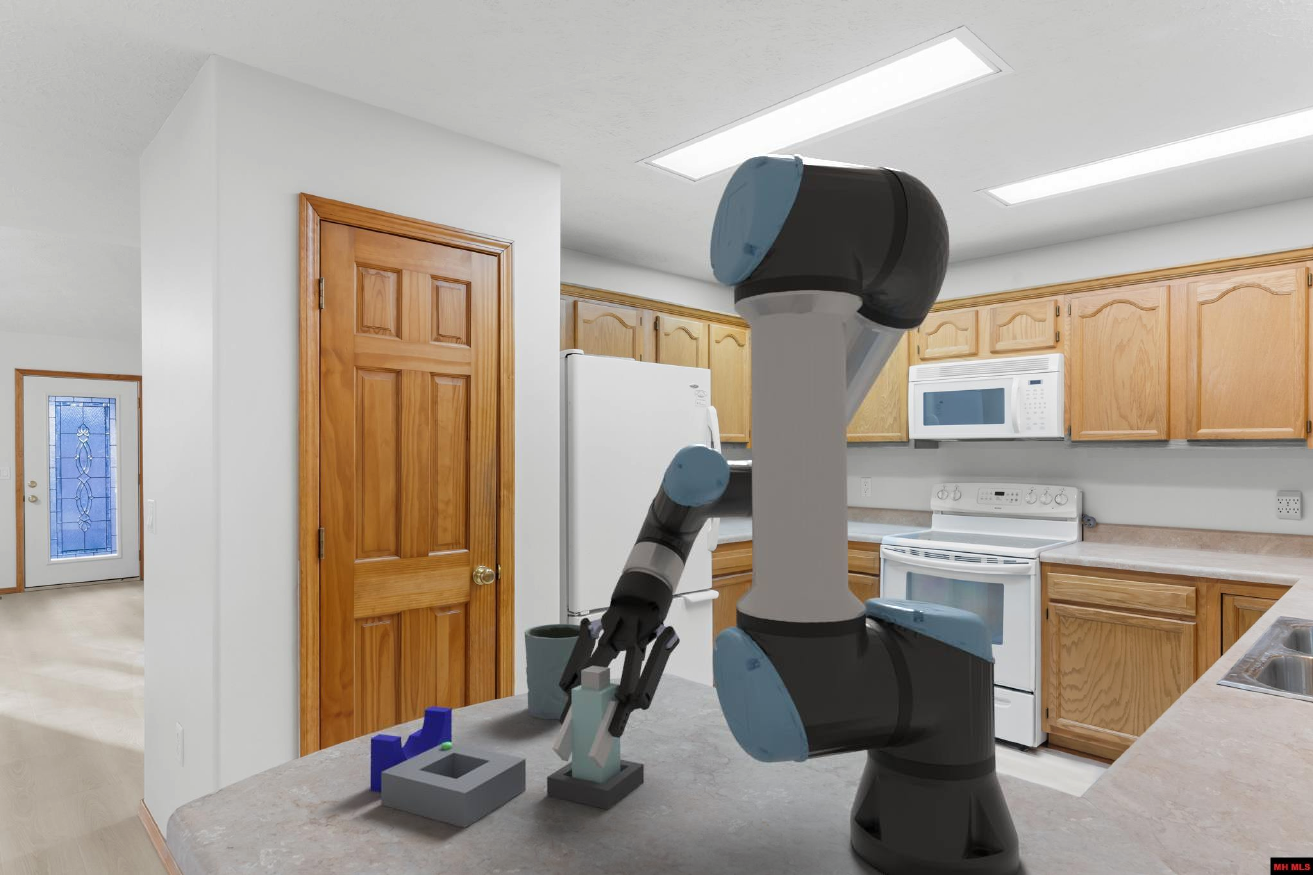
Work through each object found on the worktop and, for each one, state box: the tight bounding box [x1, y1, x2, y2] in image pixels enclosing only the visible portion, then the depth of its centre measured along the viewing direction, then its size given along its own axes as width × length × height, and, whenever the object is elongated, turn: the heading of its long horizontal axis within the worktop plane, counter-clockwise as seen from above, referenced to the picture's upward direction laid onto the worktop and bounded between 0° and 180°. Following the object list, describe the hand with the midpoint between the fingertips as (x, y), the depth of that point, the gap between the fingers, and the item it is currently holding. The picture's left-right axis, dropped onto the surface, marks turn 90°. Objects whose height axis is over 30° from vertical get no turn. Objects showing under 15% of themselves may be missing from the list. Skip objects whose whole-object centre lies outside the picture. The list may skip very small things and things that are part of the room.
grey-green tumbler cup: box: [524, 623, 580, 720], centre depth 114 cm, size 10×10×12 cm
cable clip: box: [369, 705, 453, 793], centre depth 91 cm, size 12×4×6 cm, turn 163°
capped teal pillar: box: [571, 666, 621, 784], centre depth 86 cm, size 4×4×13 cm
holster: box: [546, 758, 645, 811], centre depth 86 cm, size 8×8×2 cm
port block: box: [380, 742, 527, 829], centre depth 84 cm, size 12×10×4 cm
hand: (577, 757), depth 82 cm, fingers closed on capped teal pillar, 4 cm apart
